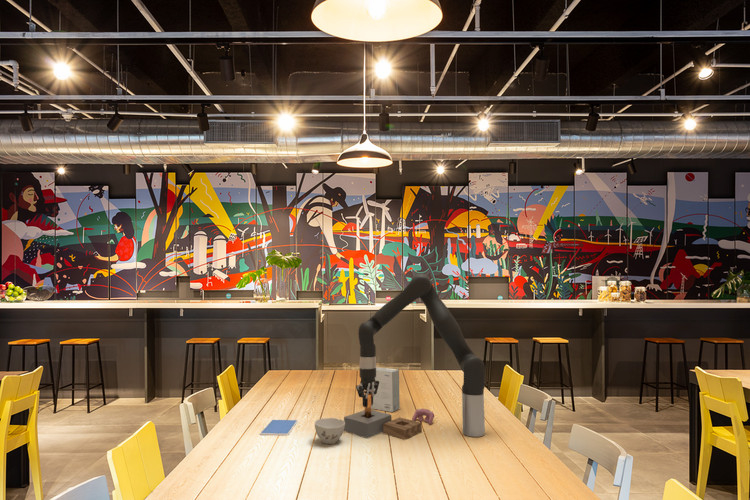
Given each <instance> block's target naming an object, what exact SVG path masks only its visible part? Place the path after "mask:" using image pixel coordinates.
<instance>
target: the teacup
mask: <svg viewBox="0 0 750 500" xmlns="http://www.w3.org/2000/svg"><path fill="white" fill-rule="evenodd" d="M344 427H345V421H344V419H341V418H340V419H339V418H336V417H325V418H323V417H322V418H319V419H317V420H315V421H314V429H315V432H316V435H317V437H318V438H319V439H320V440H321V442H322V443H323V444H325V445H333V444H336V443H337V442H338V440H340V438H341V437H342V435H343V433H344V432H345V431H344ZM320 440H319V441H320Z"/></svg>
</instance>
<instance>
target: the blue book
mask: <svg viewBox="0 0 750 500" xmlns="http://www.w3.org/2000/svg"><path fill="white" fill-rule="evenodd" d="M297 424H298V420H297V419H272V420H270V422H269V423H268V424H267V425H266V426H265V427H264V428H263V429H262V431H260V433H259V435H260V436H276V437H277V436H281V437H283V436H289V435H290V433H291V432H292V431H293V429H294V427H295V426H296V425H297Z"/></svg>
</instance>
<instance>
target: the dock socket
mask: <svg viewBox="0 0 750 500" xmlns="http://www.w3.org/2000/svg"><path fill="white" fill-rule="evenodd" d="M343 420H344V421H345V427H344V431H343V432H347V433H350V434H353V435H355V436H359V437H362V438H365V439H370V438H372V437H374V436H377V435H380V434H383V424H384V423H386V422H389V421H392V414H389V413H385V412H382V411H378V410H375V409H371V418H365V409H364V410H361V411H358V412H355V413H352V414H349V415H346V416H344V417H343Z"/></svg>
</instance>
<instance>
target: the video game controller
mask: <svg viewBox="0 0 750 500" xmlns="http://www.w3.org/2000/svg"><path fill="white" fill-rule="evenodd" d="M417 419H418V422H423V421H424V422H425V423H428V425H429V426H431V425H432V424H433V423H434V422H433V421H434V419H435V413H434V412H433V411H431V410H430V409H428V408H417V409H416V410H415V411H414V414H412V419H411V420H413V421H416V420H417Z"/></svg>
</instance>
